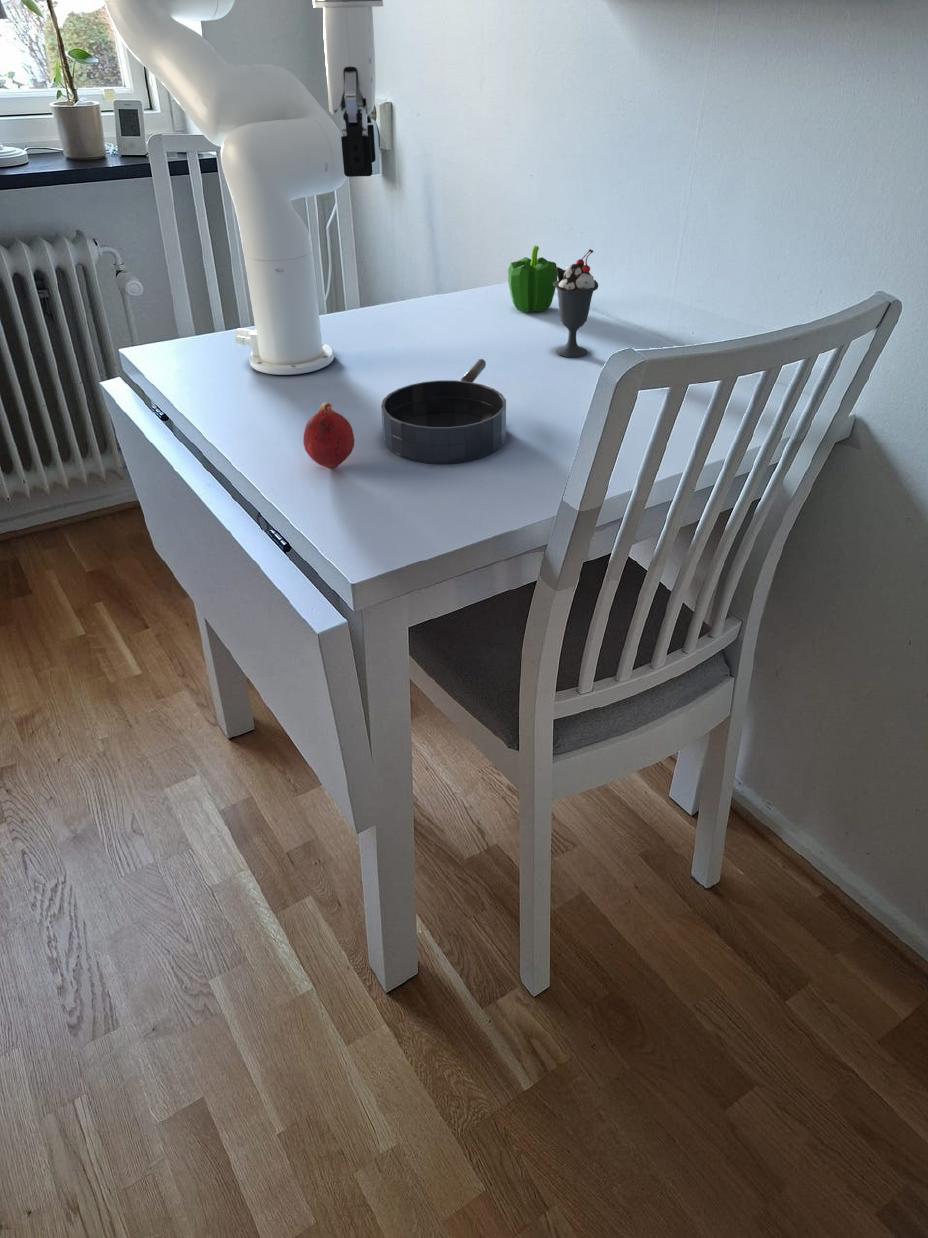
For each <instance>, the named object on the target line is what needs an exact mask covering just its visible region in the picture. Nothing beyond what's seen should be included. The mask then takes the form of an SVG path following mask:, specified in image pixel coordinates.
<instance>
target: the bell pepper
mask: <svg viewBox="0 0 928 1238" xmlns="http://www.w3.org/2000/svg"><path fill="white" fill-rule="evenodd" d="M539 250H540V247H539V246H538V245H533V246H532V249H531V257H530V258H529V257H526V256H524V257H523V258H521V259H519V260H517V261H513V262H510V264H509V267H508V269H507V281H508V288H509V293H510V297H511V300H512V303H513V306H514V307H515V309H516V310H517V311H518V312H524V313H525V312H526V313H527V312H545V311H547V310H549V308H550V306H551V305H552V303H553V299H554V296H555V294H556V293H555V292H556V290H557V288H556V287H555V286H554V285H553V282H554V281H558V275H557V269H556V268H557V267H558V266H557V263H556V262H554V261H550V260H548V259H546V258H544V257H543V256H542V257H538V252H539Z"/></svg>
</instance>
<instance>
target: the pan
mask: <svg viewBox="0 0 928 1238" xmlns="http://www.w3.org/2000/svg"><path fill="white" fill-rule="evenodd" d="M380 410H381V425H382V426H381V427H382V438H383V442H384V445H385V447H386V449H388V450H389V451H390V452H391V453H392V454H393V455H396V456H398V457H400V458H402V459H405V460H408V461H413V462H417V463H422V464H431V465H452V464H462V463H468V462H473V461H476V460H480V459H483V458H485V457H488V456H490V455H492V454H494V453H495V452H497V451H499V450H500V449H501V448H502V447H503V445H504V444H505V441H506V437H507V436H506V435H507V434H506V433H507V398H506V397H504V395H503V394H502V393H501V392H500V391H498V390H496V389H495V388H493V387H491V386H487V385H485V384H481V383H478V382H477V383H476V382H473V383H472V382H466V381H460V380H453V379H451V380H450V379H449V380H448V379H447V380H445V379H443V380H441V379H440V380H429V381H422V382H416V383H412V384H409V385H405V386H402V387H400V388H397V389H395V390H393V391H391V392H390V393H388V394H387V395H386V396H385V397H384V398H383V399H382V401H381V405H380Z"/></svg>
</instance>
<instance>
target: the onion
mask: <svg viewBox="0 0 928 1238" xmlns="http://www.w3.org/2000/svg"><path fill="white" fill-rule="evenodd" d="M354 435H355V434H354V430H353V427H352V424H351V423H350V422H349V421H348V420H347V419H346V418H345V416H343V415H342V414H340V413H339V412H337V411H335V410H333V405H332V404H331V403H330V402H329V401H326V402H323V403H321V406H320V407H319V410H318V412H316V413H315V414H314V415H313V416H311V417H310V418H309V420H308V421H307V422H306V425H305V426H304V429H303V437H302V439H303V440H302V441H303V442H302V443H303V448H304V451H305V452H306V454H307V455H308V456H309V458H311V460H312V461H314V462H315V463H316V464H317V465H319V466H322V467H324V468H327V469H329V470H335V469H337V468H338V467H339V466H340V465H341V464H342V463H344V462H345V461H346V460H347V459H348V458H349V457H350V456H351V454H352V452H353V450H354V448H355V436H354Z"/></svg>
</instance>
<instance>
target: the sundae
mask: <svg viewBox="0 0 928 1238" xmlns="http://www.w3.org/2000/svg"><path fill="white" fill-rule="evenodd" d="M592 253H594V250H593V249H591V248H589V249H588V252H586V254H584V255H583V257H581V259H580V258H579V259H577V260H576V262H575V263H572V264H570V265H568V266H567V267H566V268H565V269H563V268H561V267H559V266H557V268H556V269H557V275H558V276H557V281H554V282H553V285H554V286H555V287H556V291H557V300H558V301H557V302H558V313H559V320H560V322H561V324H562V325H563V326H564V327H565V328H566V329H567V330H568V338H567V341H566V344H564V345H563V346H562V345H561V346H558V347H557V348H556V349H555V351H554V352H555V354H556V355H558V356H559V357H560V356H561V357H564V358H581V357H584V356H586V355H587V354H588V349H586V347H583V346H579V344H578V343H577V332H578V331H579V329H581V328H582V327H583V326H584V325H585V324H586V322H587V321H588V317H589V312H590V309H591V308H590V307H591V304H592V303H591V302H592V297H593V294H594V292H595V291H596V290H598V289H599V282H598V281H597V280H596V279H595V278H594V276H593V275H592V273H591V272H590V271H591V266H589V265H588V263H587V261H588V257H589V256H590V255H591V254H592ZM584 259H585V261H584Z"/></svg>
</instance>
